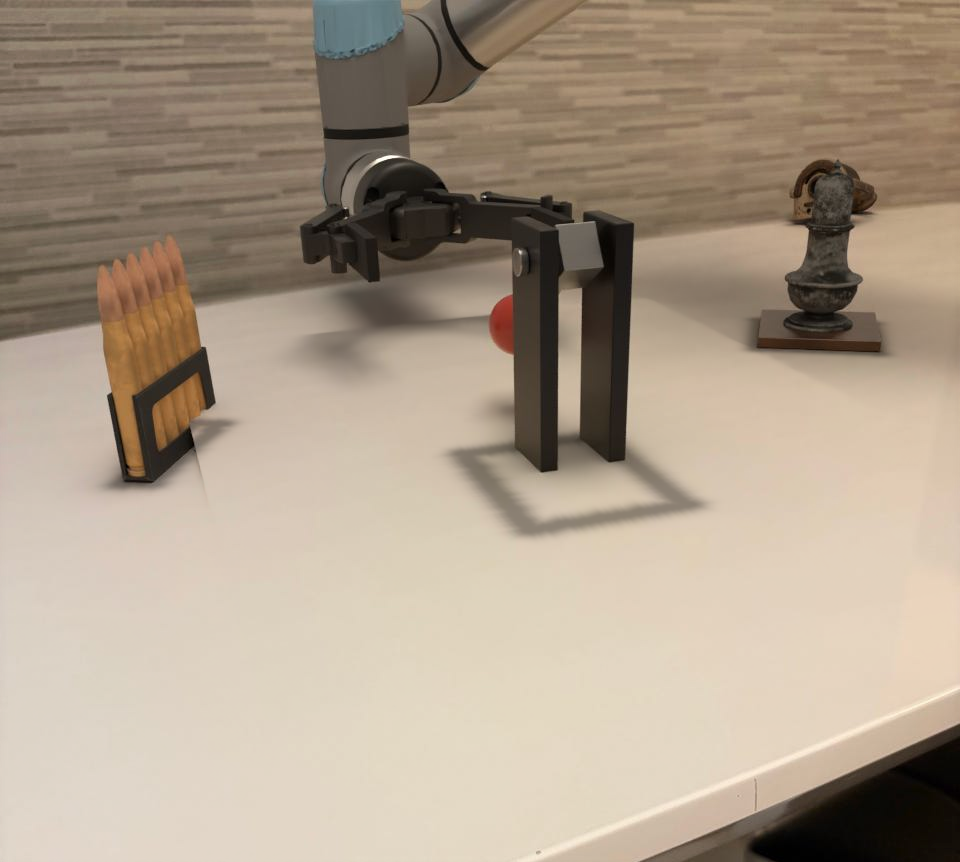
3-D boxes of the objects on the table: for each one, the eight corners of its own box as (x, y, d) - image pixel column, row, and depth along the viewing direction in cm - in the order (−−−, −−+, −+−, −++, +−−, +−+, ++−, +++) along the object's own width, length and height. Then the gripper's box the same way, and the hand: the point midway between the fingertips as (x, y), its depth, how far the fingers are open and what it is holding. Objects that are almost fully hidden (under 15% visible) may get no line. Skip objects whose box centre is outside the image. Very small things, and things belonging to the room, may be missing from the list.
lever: (488, 366, 67) (477, 309, 67) (543, 359, 67) (532, 303, 68) (553, 283, 54) (539, 213, 54) (619, 277, 55) (606, 207, 55)
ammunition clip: (151, 482, 63) (109, 268, 57) (122, 481, 63) (77, 268, 57) (219, 422, 72) (190, 232, 66) (193, 421, 72) (161, 232, 66)
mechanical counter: (765, 170, 129) (823, 158, 121) (847, 150, 134) (909, 137, 125) (772, 233, 132) (830, 225, 123) (852, 211, 136) (913, 202, 127)
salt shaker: (808, 310, 89) (827, 152, 83) (871, 323, 85) (896, 157, 79) (764, 324, 86) (780, 160, 80) (827, 337, 82) (850, 166, 76)
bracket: (463, 452, 66) (453, 210, 59) (600, 432, 68) (606, 197, 61) (530, 528, 56) (527, 248, 49) (688, 502, 58) (707, 231, 51)
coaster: (873, 322, 89) (875, 312, 88) (880, 351, 81) (881, 341, 81) (761, 318, 91) (761, 308, 90) (757, 347, 83) (758, 337, 83)
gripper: (538, 240, 94) (643, 289, 76) (251, 268, 88) (292, 328, 70) (538, 146, 90) (648, 175, 73) (237, 168, 84) (277, 205, 66)
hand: (473, 250), depth 71 cm, fingers open, 13 cm apart
